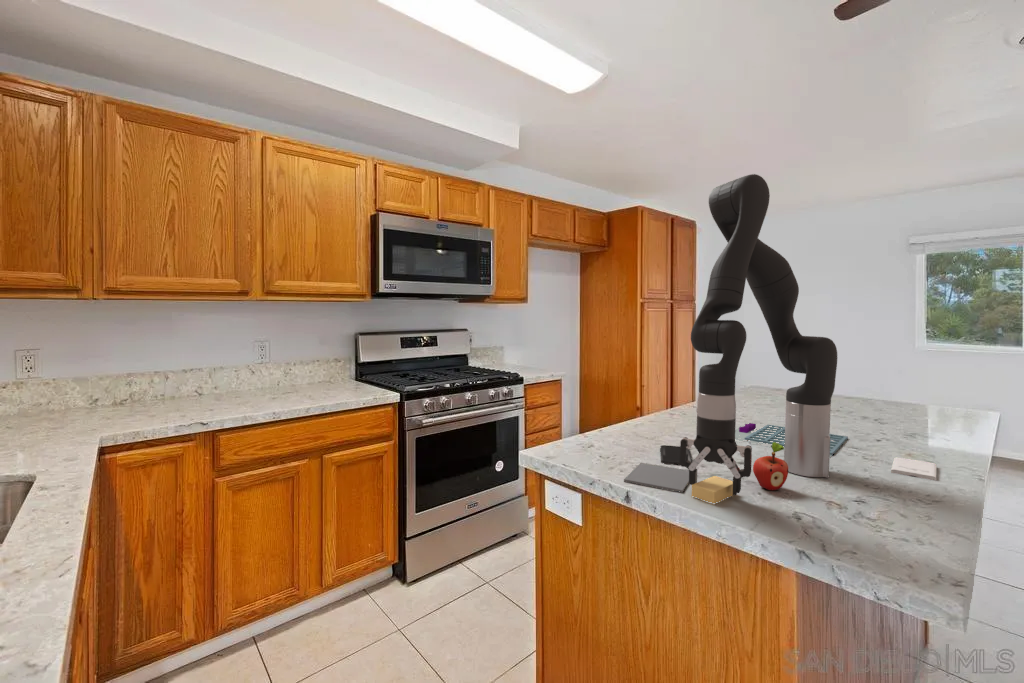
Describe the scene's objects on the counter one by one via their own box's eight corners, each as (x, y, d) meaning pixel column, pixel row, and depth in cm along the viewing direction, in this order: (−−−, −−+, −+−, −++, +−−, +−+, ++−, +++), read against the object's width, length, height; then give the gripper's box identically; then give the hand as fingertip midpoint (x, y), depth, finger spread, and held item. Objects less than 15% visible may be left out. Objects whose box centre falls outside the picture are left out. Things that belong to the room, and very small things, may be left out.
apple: (788, 497, 98) (789, 450, 97) (751, 491, 101) (753, 446, 101) (787, 485, 105) (788, 441, 104) (753, 480, 108) (754, 437, 107)
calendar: (829, 461, 124) (830, 452, 124) (720, 440, 144) (720, 432, 144) (848, 441, 143) (848, 433, 143) (749, 425, 163) (749, 418, 163)
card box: (736, 495, 99) (736, 482, 99) (714, 506, 94) (714, 492, 94) (713, 488, 103) (714, 475, 103) (691, 498, 98) (691, 484, 98)
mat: (694, 473, 112) (694, 471, 112) (682, 493, 100) (682, 490, 100) (640, 464, 119) (641, 462, 119) (623, 481, 107) (623, 479, 107)
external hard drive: (936, 469, 117) (936, 483, 107) (894, 462, 122) (890, 474, 113) (936, 463, 116) (936, 476, 107) (894, 456, 122) (890, 468, 113)
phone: (689, 447, 132) (692, 463, 118) (689, 451, 132) (692, 467, 118) (660, 444, 134) (660, 460, 120) (660, 448, 134) (660, 464, 120)
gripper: (755, 414, 97) (753, 491, 98) (684, 407, 105) (682, 478, 106) (752, 422, 91) (750, 503, 92) (677, 414, 98) (675, 489, 99)
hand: (714, 490), depth 99 cm, fingers open, 7 cm apart
